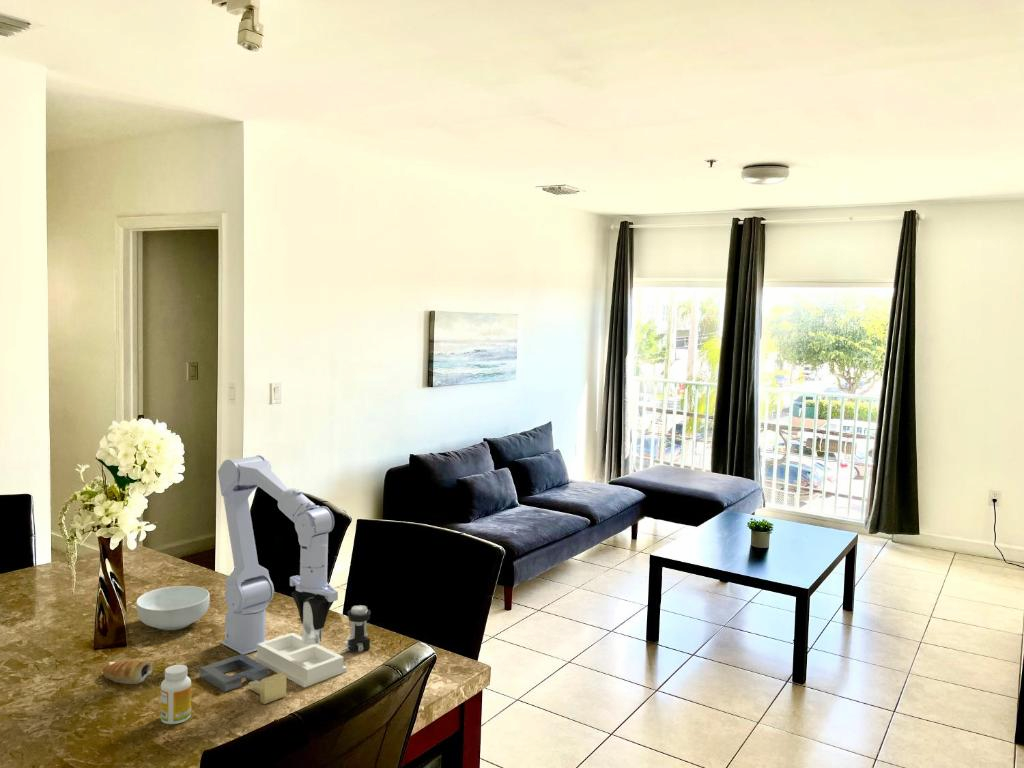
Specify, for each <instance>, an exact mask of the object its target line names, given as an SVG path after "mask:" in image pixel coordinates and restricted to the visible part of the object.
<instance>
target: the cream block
mask: <svg viewBox="0 0 1024 768" xmlns="http://www.w3.org/2000/svg"><path fill="white" fill-rule="evenodd" d="M247 687H248V689H250V690H251V691H253V692H255V693H257V694H258V695H259V701H260V703H262V704H263V705H266V704H268V703H271V702H274V701H276V700H279V699H282V698H284V697H286V696H287V678H286V674H285V673H283V672H281V673H276V674H273V675H270V676H268V677H266V678H263V679H261V680H255V681H252V682H251V681H249V682H248V683H247Z"/></svg>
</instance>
